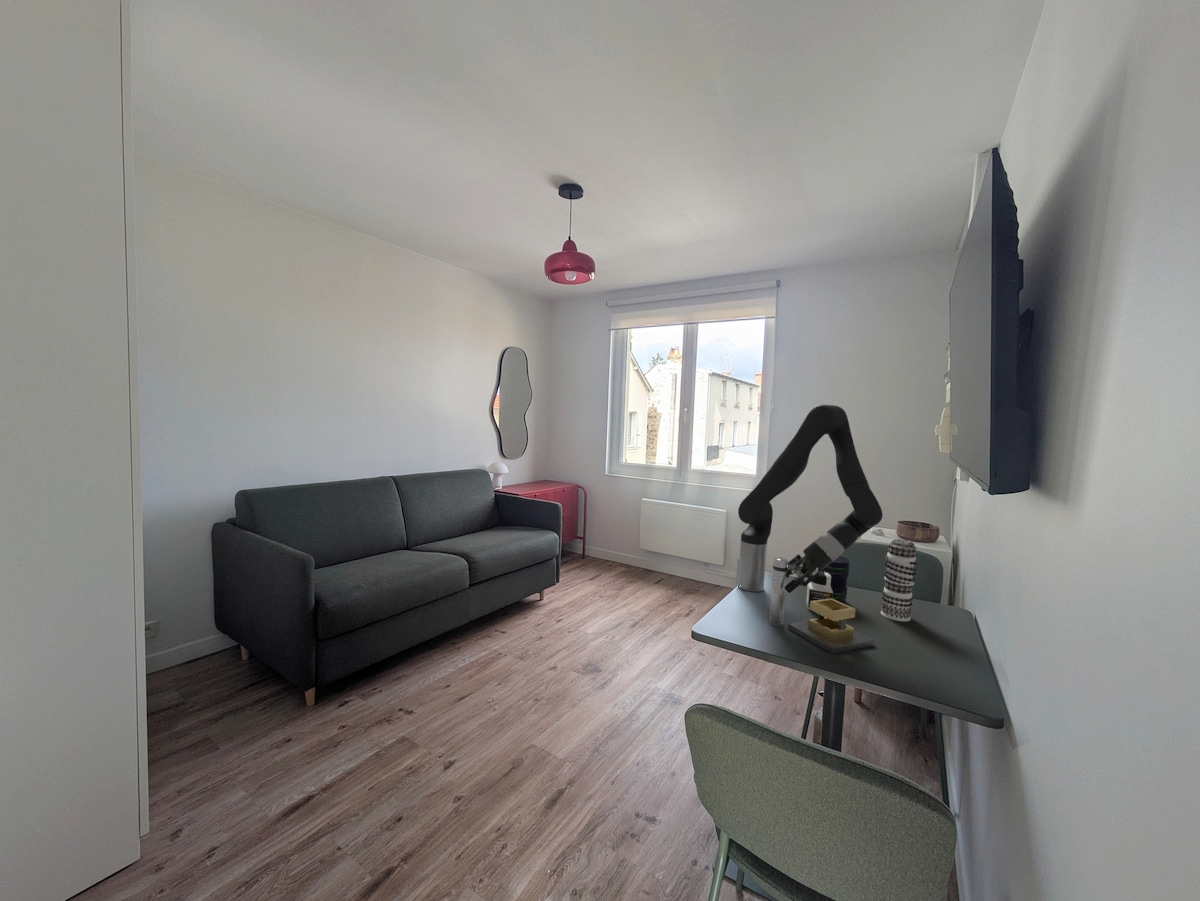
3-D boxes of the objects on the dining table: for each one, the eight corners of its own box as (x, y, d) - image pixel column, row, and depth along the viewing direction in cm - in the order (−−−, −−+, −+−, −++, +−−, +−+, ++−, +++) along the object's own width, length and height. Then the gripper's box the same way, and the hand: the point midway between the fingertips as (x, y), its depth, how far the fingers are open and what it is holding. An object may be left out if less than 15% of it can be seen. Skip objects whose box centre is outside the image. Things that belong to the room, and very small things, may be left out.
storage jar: (847, 599, 174) (851, 558, 173) (844, 607, 166) (848, 564, 165) (817, 592, 180) (820, 552, 179) (812, 600, 171) (816, 558, 170)
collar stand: (788, 628, 147) (790, 597, 146) (827, 622, 153) (830, 592, 153) (832, 653, 132) (835, 619, 132) (873, 645, 139) (877, 612, 138)
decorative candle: (902, 611, 165) (910, 538, 164) (917, 623, 156) (925, 545, 154) (874, 609, 166) (881, 536, 164) (887, 620, 157) (895, 543, 155)
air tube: (765, 621, 151) (770, 557, 150) (776, 620, 153) (781, 556, 151) (775, 627, 147) (780, 562, 146) (786, 625, 149) (791, 560, 148)
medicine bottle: (807, 609, 163) (810, 574, 162) (806, 602, 170) (809, 568, 169) (831, 613, 161) (834, 577, 160) (828, 605, 167) (831, 571, 167)
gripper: (807, 535, 155) (767, 568, 156) (825, 547, 141) (780, 584, 142) (823, 553, 155) (782, 586, 156) (842, 567, 141) (798, 603, 142)
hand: (782, 585), depth 149 cm, fingers open, 8 cm apart
